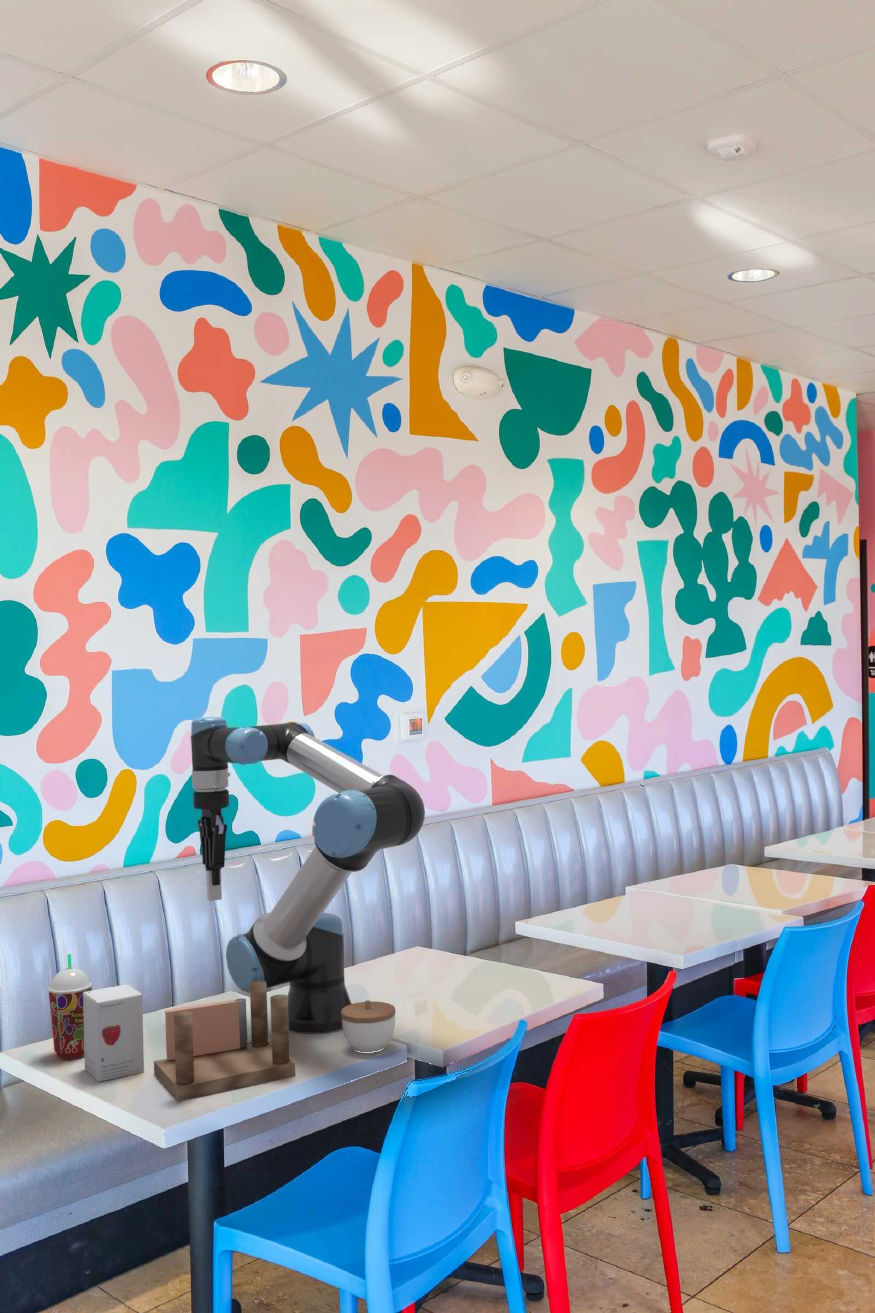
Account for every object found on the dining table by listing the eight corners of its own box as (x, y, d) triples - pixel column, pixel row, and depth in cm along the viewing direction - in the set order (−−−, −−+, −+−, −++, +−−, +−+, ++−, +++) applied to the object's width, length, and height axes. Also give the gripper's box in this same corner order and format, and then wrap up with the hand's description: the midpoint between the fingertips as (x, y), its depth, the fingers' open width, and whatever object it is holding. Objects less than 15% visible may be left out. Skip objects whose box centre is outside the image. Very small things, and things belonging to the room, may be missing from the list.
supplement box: (97, 1083, 215) (95, 1002, 215) (83, 1070, 223) (81, 991, 223) (145, 1072, 220) (143, 993, 220) (130, 1059, 228) (127, 983, 228)
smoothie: (81, 1063, 226) (77, 960, 226) (42, 1061, 228) (38, 959, 228) (102, 1048, 235) (98, 949, 235) (64, 1047, 236) (60, 948, 236)
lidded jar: (332, 1047, 231) (330, 1000, 231) (377, 1036, 237) (376, 990, 237) (360, 1062, 222) (358, 1012, 222) (407, 1049, 228) (405, 1001, 228)
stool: (265, 1051, 230) (262, 978, 230) (295, 1076, 216) (292, 998, 216) (154, 1074, 219) (151, 997, 219) (178, 1101, 205) (175, 1019, 205)
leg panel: (245, 1044, 226) (244, 998, 226) (248, 1047, 224) (246, 1000, 224) (166, 1057, 220) (164, 1009, 220) (168, 1060, 218) (166, 1012, 218)
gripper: (237, 790, 245) (241, 902, 245) (218, 785, 256) (221, 892, 256) (203, 793, 241) (206, 907, 241) (184, 788, 253) (188, 897, 253)
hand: (214, 899), depth 249 cm, fingers closed
